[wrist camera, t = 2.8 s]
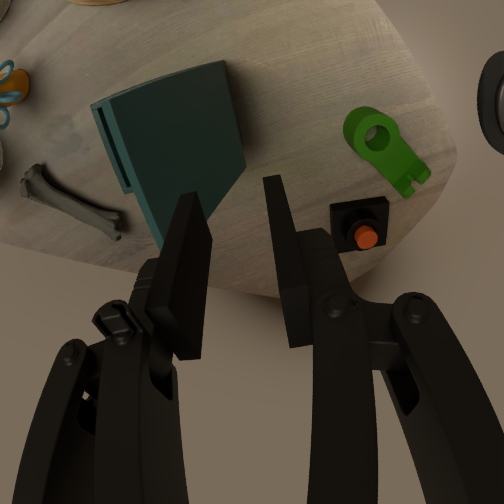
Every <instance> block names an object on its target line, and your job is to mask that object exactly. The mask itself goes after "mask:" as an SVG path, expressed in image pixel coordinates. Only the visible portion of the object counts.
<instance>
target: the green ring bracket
mask: <svg viewBox="0 0 504 504" xmlns="http://www.w3.org/2000/svg"><path fill="white" fill-rule="evenodd" d="M375 125H377V132H376V134H375V136H374V137H373V138H372V139H371V140H369V141H365V134H366V132H367V131H368V129H369V128H371V127H372V126H375ZM343 133H344V137H345V139H346V141H347V143H348V144H349V145H350V146H351V147H352V148H353V149H354V150H355V151H356V152H357V153H358V154H359V155H360V156H361V157H362V158H363V159H365V160H367V161H369V162H371V163H372V164H373V165H374V166H375V167H376V169H377V170H378V171H379V172H380V173H381V174H382V175H383V176H384V177H385V178H386V179H387V180H388V181H389V182H390V183H391V184H392V185H393V186H394V187H395V188H396V190H397V191H398V192H399V193H400V194H401V195H402V196H403V197H404V198H409V197H410V196H411V195H412V194H413V193H414V192H415V191H416V190H415V189H414V188H413V187H412V186H411V182H412V181H413V180H417V181H418V182H419V183H420V184H421V185H422V184H423V183H424V182H425V181H426V180H427V179H428V178H429V177H430V175H431V171H430V169H429V168H428V167H427V165H426V164H425V163H424V162H422V161H421V160H420V159H419V158H418V157H417V156H416V154H415V153H414V152H413V151H412V150H411V148H410V147H409V146H408V145H407V143H406V142H405V141H404V140H403V139H402V138H401V136H400V132H399V129H398V126H397V124H396V123H395V122H394V120H392V119H391V118H390V117H388V116H387V115H385V114H383V113H381V112H379V111H378V110H376V109H374V108H371V107H359V108H356V109H354V110H353V111H352V112H350V113H349V115H348V116H347V117H346V119H345V121H344V125H343Z"/></svg>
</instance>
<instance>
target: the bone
mask: <svg viewBox="0 0 504 504" xmlns="http://www.w3.org/2000/svg"><path fill="white" fill-rule="evenodd" d="M41 170H42V166H41V165H39V164H35V165H33V166H32V167H31V168H30V169H29V171H26V172H25V174H24V176H25V178H22V179H21V181H20V183H21V187H20V192H21V195H22V197H26V198H28V199H31V200H34V201H37V202H39V203H42V204H45V205H48V206H50V207H53V208H55V209H58V210H60V211H62V212H65V213H67V214H69V215H71V216H73V217H75V218H76V219H78V220H80V221H81V222H84V223H86V224H88V225H90V226H93V227H95V228H97V229H100V230H101V231H103V232H104V233H105V234H106V235H108V236H109V237H110V238H111V239H112V240H114V241H118V240H120V239H121V238H122V237H121V228H122V224H123V222H122V221H121V219H120V216H121V213H119V212H112V211H106V210H100V209H97V208H95V207H93V206H90V205H88V204H85V203H83V202H81V201H79V200H77V199H76V198H74V197H72V196H70V195H67V194H65V193H63V192H61V191H59V190H56V189H55V188H54V187H52V186H50V184H48V183H47V182H46V181H45V179H44V178H43V177H42V175H41Z"/></svg>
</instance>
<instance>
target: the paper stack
mask: <svg viewBox="0 0 504 504" xmlns="http://www.w3.org/2000/svg"><path fill="white" fill-rule="evenodd" d="M68 1H70V2H74V3H78V4H84V5H105V4H112V3H117V2H122V1H125V0H68Z"/></svg>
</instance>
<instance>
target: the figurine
mask: <svg viewBox="0 0 504 504" xmlns="http://www.w3.org/2000/svg"><path fill="white" fill-rule="evenodd" d="M10 4H11V0H0V21H1V20H2V18H3V17H4V15H5V14H6V12H7V10H8V8H9V6H10Z"/></svg>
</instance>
